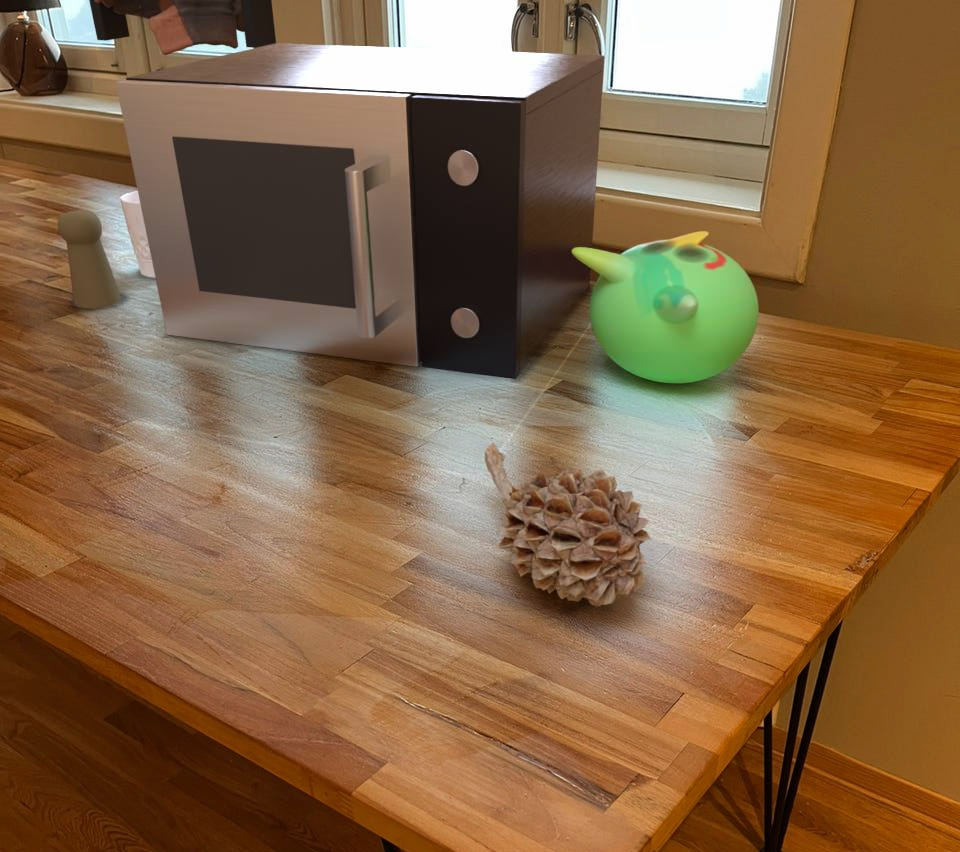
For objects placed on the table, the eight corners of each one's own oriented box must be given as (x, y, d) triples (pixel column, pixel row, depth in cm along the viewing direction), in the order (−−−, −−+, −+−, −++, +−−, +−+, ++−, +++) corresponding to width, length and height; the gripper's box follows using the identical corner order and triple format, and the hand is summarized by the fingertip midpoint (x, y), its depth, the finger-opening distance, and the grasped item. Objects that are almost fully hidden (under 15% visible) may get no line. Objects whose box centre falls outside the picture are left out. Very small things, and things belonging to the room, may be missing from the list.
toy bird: (774, 377, 106) (801, 237, 97) (682, 424, 96) (703, 274, 87) (644, 336, 116) (657, 205, 107) (549, 374, 106) (555, 235, 97)
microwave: (513, 382, 105) (518, 101, 88) (164, 337, 116) (111, 80, 100) (589, 285, 131) (604, 55, 115) (299, 256, 143) (275, 43, 126)
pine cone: (681, 619, 70) (699, 498, 64) (571, 661, 66) (580, 536, 60) (520, 492, 85) (523, 385, 79) (424, 520, 81) (419, 410, 75)
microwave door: (393, 391, 103) (375, 108, 86) (132, 355, 111) (72, 91, 95) (422, 362, 109) (411, 94, 93) (174, 330, 117) (124, 79, 101)
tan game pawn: (130, 295, 129) (110, 207, 122) (108, 309, 124) (86, 219, 117) (88, 292, 130) (66, 205, 123) (65, 307, 125) (41, 217, 118)
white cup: (204, 270, 137) (191, 195, 131) (155, 283, 133) (139, 206, 126) (173, 259, 141) (159, 186, 135) (125, 271, 137) (108, 196, 131)
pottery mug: (119, 67, 62) (61, -72, 60) (147, 116, 71) (98, -3, 69) (294, 5, 63) (243, -134, 61) (300, 62, 72) (255, -57, 70)
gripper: (334, -420, 53) (363, 42, 67) (-10, -387, 60) (79, 30, 73) (266, -458, 48) (312, 55, 61) (-106, -417, 54) (10, 40, 67)
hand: (186, 42), depth 67 cm, fingers closed on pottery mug, 11 cm apart
